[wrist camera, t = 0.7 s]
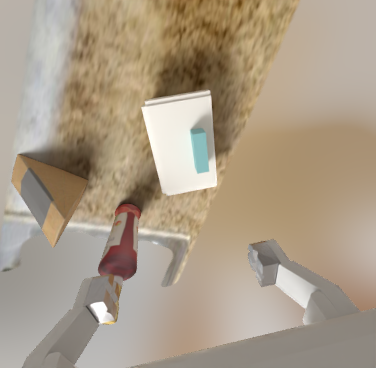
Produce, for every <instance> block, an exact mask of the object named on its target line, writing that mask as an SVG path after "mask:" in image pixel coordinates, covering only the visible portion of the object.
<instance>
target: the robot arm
mask: <svg viewBox="0 0 376 368" xmlns="http://www.w3.org/2000/svg"><path fill="white" fill-rule="evenodd" d="M248 249H249V251H250V252H249V253H248V259H249V263H250V265H251V268H252V270H254V271H255V272H256V278H257V280H258V282H259V284H260V286H261V287H264V286H268V285H274V284H276V286H277V287H279V288H280V289H281V290H282V291H283V292H285V293H286V294H287V295H289V296H290V297H291V298H292V299H293V300H295V301H296V302H297V303H298V304H300V305H301V306H302V307H303V308H305V309H306V311H305V314H304V317H303V320H302V321H303V322H304V324H305V325H303V326H299V327H295V328H291V329H287V330H282V331H278V332H274V333H270V334H266V335H262V336H257V337H253V338H249V339H245V340H241V341H237V342H233V343H228V344H224V345H220V346H216V347H212V348H207V349H203V350H199V351H195V352H191V353H187V354H182V355H178V356H174V357H170V358H166V359H162V360H158V361H154V362H149V363H145V364H141V365H137V366H132V367H128V368H376V308H374V309H370V310H366V311H360V310H359V309H358V308H357V307H356V306H355V305H354V303H353V302H352V301H351V300H350V299H349V298H348V296H346V294H345V293H344V292H343V291H342V289H341V288H340V287H339V286H337V285H336V284H334V283H332V282H330V281H328V280H327V279H325V278H323V277H321V276H320V275H318V274H316V273H314V272H312V271H311V270H309V269H307V268H305V267H303V266H302V265H300V264H298V263H296V262H294V261H290V260H289V258H288V257H287V256H286V254H285V253H284V252H283V250H282V249H281V247H280V246H279V245H278V243H277V242H276V241H275V240H274V239H271V240H267V241H261V242H257V243H253V244H249V246H248ZM118 299H119V286H118V283H117V282H116V281H114V276H113V274H107V275H102V276H97V277H91V278H86V279H84V280H83V282H82V284H81V287H80V289H79V292H78V295H77V298H76V301H75V303H74V306H73V309H70V310H69V311H68V312H67V313H66V314H65V315H64V317H63V318H62V319H61V320H60V321H59V322H58V323H57V324H56V326H55V327H54V328H53V329H52V330H51V331H50V332H49V333H48V334H47V336H46V337H45V338H44V339H43V340H42V341H41V342H40V344H39V345H38V346H37V347H36V348H35V349H34V350H33V351H32V352H31V354H30V355H29V356H28V357H27V358H26V360H25V362H24V365H23V367H22V368H77V367H76V366H75V363H76V361H77V360H78V358H79V357H80V355H81V354H82V352H83V350H84V349H85V347H86V346H87V344H88V342H89V341H90V339H91V337H92V336H93V334H94V333H95V331H96V330H97V328H98V326H99V324H101V323H105V322H109V321H113V320H115V317H116V311H117V306H116V304H115V303H116V302H117V300H118Z"/></svg>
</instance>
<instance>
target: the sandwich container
mask: <svg viewBox="0 0 376 368" xmlns="http://www.w3.org/2000/svg"><path fill="white" fill-rule="evenodd" d="M11 182H12V183H13V185H14V186H15V188H16V189H17V191H18V192H19V194H20V195H21V197H22V198H23V200H24V202H25V203H26V205H27V206H28V208H29V209H30V211H31V213H32V214H33V216H34V217H35V219H36V220H37V222H38V224H39V225H40V227H41V229H42V230H43V232H44V234H45V235H46V237H47V239H48V240H49V242H50V244H51V245H52V247H55V245H56V243H57V242H58V240H59V238H60V236H61V234H62V233H63V231H64V229H65V227H66V226H67V224H68V222H69V220H70V219H71V217H72V215H73V213H74V211H75V210H76V208H77V206H78V204H79V202H80V200H81V197H82V195H83V193H84V190H85V188H86V185H87V183H88V180H86V179H83V178H81V177H79V176H76V175H74V174H71V173H69V172H66V171H64V170H61V169H58V168H56V167H53V166H50V165H47V164H45V163H42V162H39V161H36V160H34V159H31V158H28V157H25V156H23V155H20V154H18V155H17V158H16V162H15V165H14V169H13V175H12V181H11Z"/></svg>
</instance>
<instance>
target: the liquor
mask: <svg viewBox="0 0 376 368" xmlns="http://www.w3.org/2000/svg"><path fill="white" fill-rule="evenodd" d="M115 216H116V217H115V220H114V223H113V226H112V229H111V232H110V235H109V238H108V241H107V244H106V246H105V249H104V252H103V255H102V258H101V261H100V264H99V267H98V272H99V274H100V275H101V276H102V275H107V274H113V276H114V281H116V282H117V283H118V286H119V296H120V292H121V289H122V285H123V281H124V280H127V279H129V278H131V277H132V276H133V275H134V274H135V273H136V269H137V248H138V222H139V218H140V216H141V212H140V210H139V208H138V207H136V206H135V205H132V204H123V205H121V206H119V207H118V208H117V209H116V211H115ZM118 300H119V299H118ZM118 300H117V302H116V303H115V304H116V306H117V311H116V317H115V320H113V321H109V322H105V323H102V324H106V325H109V324H113V323H115V322H116V321H117V317H118V310H119V302H118Z"/></svg>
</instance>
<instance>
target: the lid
mask: <svg viewBox="0 0 376 368" xmlns="http://www.w3.org/2000/svg"><path fill="white" fill-rule="evenodd" d="M141 108H142V112H143V116H144V120H145V124H146V128H147V132H148V136H149V140H150V144H151V148H152V152H153V156H154V160H155V164H156V168H157V172H158V176H159V180H160V184H161V188H162V192H163V194H164V193H166V194H167V196H169V195H174V194H179V193H184V192H189V191H194V190H199V189H205V188H210V187H215V186H217V176H216V161H215V147H214V132H213V117H212V102H211V95H210V90H201V91H195V92H189V93H183V94H177V95H171V96H165V97H159V98H153V99H147V100H145V105H142V107H141Z"/></svg>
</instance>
